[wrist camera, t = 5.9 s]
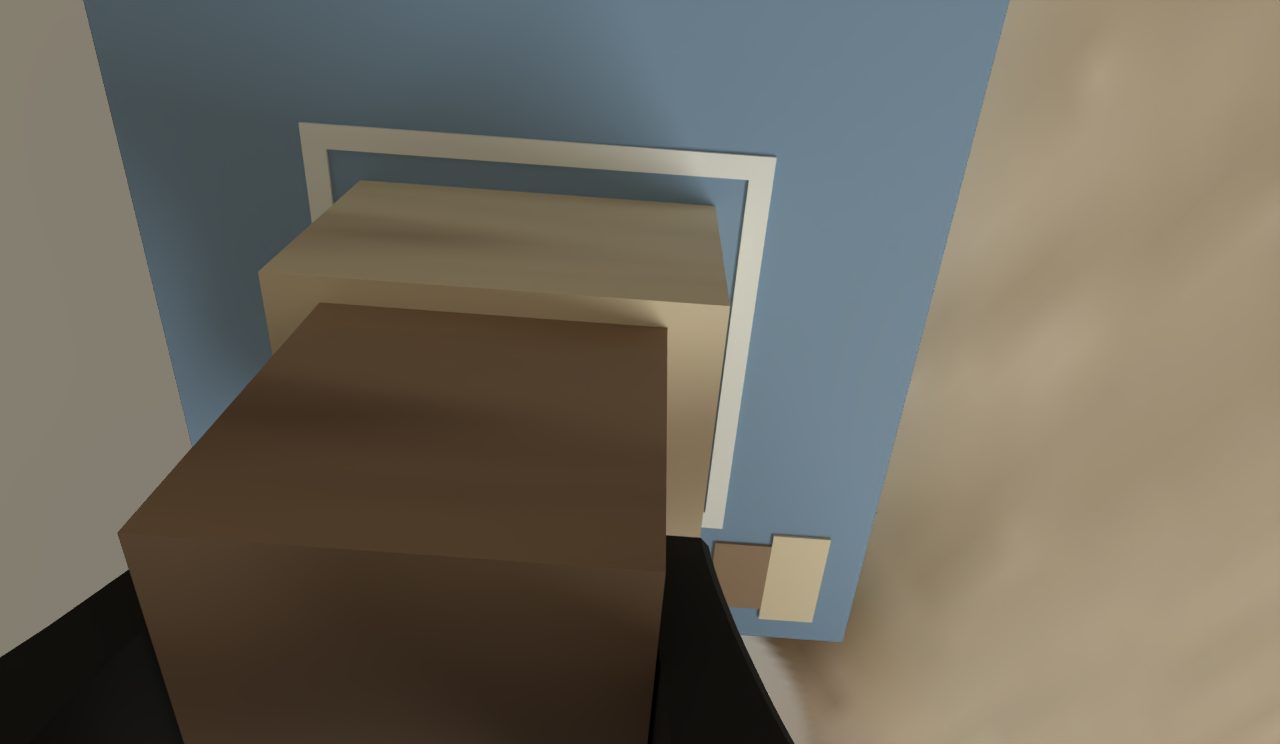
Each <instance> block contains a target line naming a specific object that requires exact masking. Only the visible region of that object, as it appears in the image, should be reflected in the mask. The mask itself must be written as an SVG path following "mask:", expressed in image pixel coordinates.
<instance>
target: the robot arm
mask: <svg viewBox="0 0 1280 744" xmlns="http://www.w3.org/2000/svg"><path fill="white" fill-rule="evenodd" d="M0 744H184V742H183V738H182V735H181V732H180V729H179V726H178V723H177V720H176V716H175V713H174V710H173V707H172V704H171V701H170V697H169V694H168V691H167V688H166V685H165V682H164V678H163V675H162V672H161V669H160V666H159V663H158V660H157V656H156V653H155V650H154V647H153V644H152V641H151V637H150V634H149V631H148V628H147V625H146V622H145V618H144V615H143V612H142V609H141V606H140V603H139V600H138V596H137V593H136V590H135V587H134V584H133V581H132V577H131V574H130V571H129V570H127V571H126V572H125V573H123V574H122V575H120V576H119V577H118V578H116V579H115V580H113V581H112V582H110V583H109V584H108V585H106V586H105V587H103V588H102V589H101V590H99V591H98V592H96V593H95V594H93V595H92V596H91V597H89V598H88V599H86V600H85V601H84V602H82V603H81V604H79V605H78V606H76V607H75V608H74V609H72V610H71V611H70V612H68V613H66V614H65V615H64V616H62V617H61V618H59V619H58V620H57V621H55V622H54V623H52V624H51V625H50V626H48V627H46V628H45V629H43V630H42V631H40V632H39V633H37V634H36V635H34V636H33V637H31V638H29V639H28V640H26V641H25V642H23V643H22V644H20V645H19V646H17V647H16V648H14V649H13V650H11V651H10V652H8V653H6V654H5V655H3V656H2V657H0ZM647 744H794V742H793V740H792V738H791V737H790V735H789V733H788V731H787V730H786V728H785V726H784V724H783V722H782V720H781V718H780V716H779V715H778V713H777V711H776V709H775V707H774V705H773V703H772V701H771V699H770V697H769V695H768V693H767V691H766V689H765V687H764V685H763V683H762V681H761V678H760V677H759V674H758V672H757V670H756V668H755V666H754V664H753V662H752V660H751V658H750V656H749V653H748V651H747V649H746V647H745V645H744V643H743V640H742V638H741V636H740V633H739V631H738V629H737V626H736V624H735V621H734V619H733V617H732V614H731V612H730V609H729V607H728V604H727V602H726V599H725V596H724V594H723V591H722V588H721V586H720V583H719V580H718V577H717V574H716V571H715V568H714V564H713V561H712V558H711V554H710V550H709V546H708V545H707V544H706V543H705V542H704V541H703V540H702V539H701V538H699V537H685V536H671V535H666V575H665V584H664V593H663V603H662V612H661V621H660V631H659V640H658V649H657V659H656V668H655V677H654V687H653V696H652V705H651V715H650V724H649V733H648V743H647Z"/></svg>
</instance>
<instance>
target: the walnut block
mask: <svg viewBox="0 0 1280 744" xmlns="http://www.w3.org/2000/svg"><path fill="white" fill-rule="evenodd" d="M667 333H668V328H663V327H650V326H636V325H622V324H608V323H595V322H581V321H567V320H553V319H540V318H526V317H512V316H498V315H484V314H471V313H457V312H443V311H429V310H416V309H402V308H388V307H374V306H361V305H347V304H333V303H318V305H317V306H316V307H315V308H314V309H313V310H312V311H311V313H310V314H309V315H308V316H307V317H306V318H305V319H304V321H303V322H302V323H301V324H300V325H299V326H298V327H297V329H296V330H295V331H294V332H293V333H292V334H291V335H290V337H289V338H288V339H287V340H286V341H285V342H284V343H283V344H282V346H281V347H280V348H279V349H278V350H277V351H276V352H275V354H274V355H273V356H272V357H271V358H270V359H269V360H268V362H267V363H266V364H265V365H264V366H263V367H262V368H261V370H260V371H259V372H258V373H257V374H256V375H255V376H254V378H253V379H252V380H251V381H250V382H249V383H248V384H247V386H246V387H245V388H244V389H243V390H242V391H241V392H240V394H239V395H238V396H237V397H236V398H235V399H234V400H233V402H232V403H231V404H230V405H229V406H228V407H227V408H226V409H225V411H224V412H223V413H222V414H221V415H220V416H219V417H218V419H217V420H216V421H215V422H214V423H213V424H212V425H211V427H210V428H209V429H208V430H207V431H206V432H205V433H204V435H203V436H202V437H201V438H200V439H199V440H198V441H197V443H196V444H195V445H194V446H193V447H192V448H191V450H190V451H189V452H188V453H187V454H186V455H185V456H184V458H183V459H182V460H181V461H180V462H179V463H178V464H177V465H176V467H175V468H174V469H173V470H172V471H171V472H170V474H169V475H168V476H167V477H166V478H165V479H164V480H163V481H162V482H161V484H160V485H159V486H158V487H157V488H156V489H155V490H154V492H153V493H152V494H151V495H150V496H149V497H148V498H147V500H146V501H145V502H144V503H143V504H142V505H141V507H140V508H139V509H138V510H137V511H136V512H135V513H134V514H133V516H132V517H131V518H130V519H129V520H128V521H127V522H126V524H125V525H124V526H123V527H122V528H121V529H120V530H119V532H118V536H119V539H120V543H121V546H122V549H123V552H124V555H125V558H126V562H127V565H128V568H129V571H130V574H131V577H132V581H133V584H134V587H135V590H136V593H137V596H138V600H139V603H140V606H141V609H142V612H143V615H144V618H145V622H146V625H147V628H148V631H149V634H150V637H151V641H152V644H153V647H154V650H155V653H156V656H157V660H158V663H159V666H160V669H161V672H162V675H163V678H164V682H165V685H166V688H167V691H168V694H169V697H170V701H171V704H172V707H173V710H174V713H175V716H176V720H177V723H178V726H179V729H180V732H181V735H182V738H183V742H184V744H647V743H648V733H649V724H650V715H651V705H652V696H653V687H654V677H655V668H656V659H657V649H658V640H659V631H660V621H661V612H662V603H663V593H664V584H665V575H666V472H667Z"/></svg>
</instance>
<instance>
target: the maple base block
mask: <svg viewBox="0 0 1280 744" xmlns="http://www.w3.org/2000/svg"><path fill="white" fill-rule="evenodd" d="M258 275H259V281H260V287H261V292H262V298H263V304H264V310H265V315H266V321H267V327H268V333H269V338H270V344H271V350H272V356H273V355H274V354H275V352H276V351H277V350H278V349H279V348H280V347H281V346H282V344H283V343H284V342H285V341H286V340H287V339H288V338H289V337H290V335H291V334H292V333H293V332H294V331H295V330H296V329H297V327H298V326H299V325H300V324H301V323H302V322H303V321H304V319H305V318H306V317H307V316H308V315H309V314H310V313H311V311H312V310H313V309H314V308H315V307H316V306H317V305H318V303H333V304H347V305H361V306H374V307H388V308H402V309H416V310H429V311H443V312H457V313H471V314H484V315H498V316H512V317H526V318H540V319H553V320H567V321H581V322H595V323H608V324H622V325H636V326H650V327H663V328H668V333H667V472H666V535H671V536H685V537H699V538H700V534H701V526H702V519H703V511H704V503H705V496H706V488H707V480H708V473H709V465H710V457H711V450H712V442H713V434H714V427H715V419H716V411H717V404H718V396H719V388H720V381H721V373H722V365H723V358H724V350H725V342H726V335H727V327H728V319H729V312H730V301H729V295H728V288H727V281H726V274H725V268H724V261H723V254H722V247H721V241H720V234H719V227H718V220H717V213H716V207H715V206H708V205H694V204H681V203H667V202H653V201H640V200H626V199H612V198H599V197H585V196H571V195H558V194H544V193H531V192H517V191H503V190H490V189H476V188H462V187H449V186H435V185H421V184H408V183H394V182H380V181H367V180H360V181H359V182H358V183H357V184H355V185H354V186H353V187H352V188H351V189H350V190H349V191H348V192H346V193H345V194H344V195H343V196H342V197H341V198H340V199H339V200H338V201H336V202H335V203H334V204H333V205H332V206H331V207H330V208H329V209H328V210H326V211H325V212H324V213H323V214H322V215H321V216H320V217H319V218H317V219H316V220H315V221H314V222H313V223H312V224H311V225H310V226H309V227H307V228H306V229H305V230H304V231H303V232H302V233H301V234H300V235H299V236H297V237H296V238H295V239H294V240H293V241H292V242H291V243H290V244H288V245H287V246H286V247H285V248H284V249H283V250H282V251H281V252H280V253H278V254H277V255H276V256H275V257H274V258H273V259H272V260H271V261H270V262H268V263H267V264H266V265H265V266H264V267H263V268H262V269H261V270H259V271H258Z"/></svg>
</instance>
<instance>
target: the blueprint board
mask: <svg viewBox="0 0 1280 744" xmlns="http://www.w3.org/2000/svg"><path fill="white" fill-rule="evenodd" d="M83 1H84V4H85V9H86V13H87V17H88V21H89V25H90V29H91V33H92V38H93V42H94V45H95V50H96V54H97V58H98V62H99V66H100V70H101V75H102V79H103V83H104V87H105V91H106V95H107V99H108V103H109V107H110V112H111V116H112V120H113V124H114V128H115V132H116V136H117V140H118V144H119V149H120V153H121V157H122V160H123V165H124V169H125V173H126V177H127V181H128V186H129V190H130V193H131V198H132V202H133V206H134V210H135V214H136V218H137V222H138V227H139V230H140V235H141V238H142V243H143V247H144V251H145V255H146V259H147V264H148V267H149V272H150V275H151V280H152V284H153V288H154V292H155V296H156V301H157V305H158V308H159V313H160V317H161V321H162V325H163V329H164V333H165V337H166V342H167V345H168V350H169V354H170V358H171V362H172V366H173V370H174V374H175V379H176V383H177V386H178V391H179V395H180V399H181V403H182V407H183V411H184V416H185V420H186V424H187V428H188V432H189V436H190V440H191V444H192V447H193V446H194V445H195V444H196V443H197V441H198V440H199V439H200V438H201V437H202V436H203V435H204V433H205V432H206V431H207V430H208V429H209V428H210V427H211V425H212V424H213V423H214V422H215V421H216V420H217V419H218V417H219V416H220V415H221V414H222V413H223V412H224V411H225V409H226V408H227V407H228V406H229V405H230V404H231V403H232V402H233V400H234V399H235V398H236V397H237V396H238V395H239V394H240V392H241V391H242V390H243V389H244V388H245V387H246V386H247V384H248V383H249V382H250V381H251V380H252V379H253V378H254V376H255V375H256V374H257V373H258V372H259V371H260V370H261V368H262V367H263V366H264V365H265V364H266V363H267V362H268V360H269V359H270V358H271V357H272V350H271V344H270V338H269V333H268V327H267V321H266V315H265V310H264V304H263V298H262V292H261V287H260V281H259V275H258V271H259V270H261V269H262V268H263V267H264V266H265V265H266V264H267V263H268V262H270V261H271V260H272V259H273V258H274V257H275V256H276V255H277V254H278V253H280V252H281V251H282V250H283V249H284V248H285V247H286V246H287V245H288V244H290V243H291V242H292V241H293V240H294V239H295V238H296V237H297V236H299V235H300V234H301V233H302V232H303V231H304V230H305V229H306V228H307V227H309V226H310V225H311V224H312V223H313V222H314V221H315V220H316V219H317V218H319V217H320V216H321V215H322V214H323V213H324V212H325V211H326V210H328V209H329V208H330V207H331V206H332V205H333V204H334V203H335V202H336V201H338V200H339V199H340V198H341V197H342V196H343V195H344V194H345V193H346V192H348V191H349V190H350V189H351V188H352V187H353V186H354V185H355V184H357V183H358V182H359V181H360V180H367V181H380V182H394V183H408V184H421V185H435V186H449V187H462V188H476V189H490V190H503V191H517V192H531V193H544V194H558V195H571V196H585V197H599V198H612V199H626V200H640V201H653V202H667V203H681V204H694V205H708V206H715V207H716V213H717V220H718V227H719V234H720V241H721V247H722V254H723V261H724V268H725V274H726V281H727V288H728V295H729V301H730V312H729V319H728V327H727V335H726V342H725V350H724V358H723V365H722V373H721V381H720V388H719V396H718V404H717V411H716V419H715V427H714V434H713V442H712V450H711V457H710V465H709V473H708V480H707V488H706V496H705V503H704V511H703V519H702V526H701V534H700V538H701V539H702V540H703V541H704V542H705V543H706V544H707V545H708V546H709V550H710V554H711V558H712V561H713V564H714V568H715V571H716V574H717V577H718V580H719V583H720V586H721V588H722V591H723V594H724V596H725V599H726V602H727V604H728V607H729V609H730V612H731V614H732V617H733V619H734V621H735V624H736V626H737V629H738V631H739V633H740V635H749V636H763V637H777V638H792V639H806V640H820V641H834V642H842V641H843V637H844V633H845V629H846V625H847V622H848V618H849V614H850V610H851V606H852V602H853V599H854V595H855V591H856V587H857V583H858V579H859V576H860V572H861V568H862V564H863V560H864V556H865V553H866V549H867V545H868V541H869V537H870V533H871V530H872V526H873V522H874V518H875V514H876V510H877V507H878V503H879V499H880V495H881V491H882V487H883V484H884V480H885V476H886V472H887V468H888V464H889V461H890V457H891V453H892V449H893V445H894V441H895V438H896V434H897V430H898V426H899V422H900V418H901V415H902V411H903V407H904V403H905V399H906V395H907V392H908V388H909V384H910V380H911V376H912V372H913V368H914V365H915V361H916V357H917V353H918V349H919V345H920V342H921V338H922V334H923V330H924V326H925V322H926V319H927V315H928V311H929V307H930V303H931V299H932V296H933V292H934V288H935V284H936V280H937V276H938V273H939V269H940V265H941V261H942V257H943V253H944V250H945V246H946V242H947V238H948V234H949V230H950V227H951V223H952V219H953V215H954V211H955V207H956V204H957V200H958V196H959V192H960V188H961V184H962V181H963V177H964V173H965V169H966V165H967V161H968V158H969V154H970V150H971V146H972V142H973V138H974V135H975V131H976V127H977V123H978V119H979V115H980V112H981V108H982V104H983V100H984V96H985V92H986V89H987V85H988V81H989V77H990V73H991V69H992V66H993V62H994V58H995V54H996V50H997V46H998V43H999V39H1000V35H1001V31H1002V27H1003V23H1004V20H1005V16H1006V12H1007V8H1008V4H1009V0H83Z"/></svg>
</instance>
